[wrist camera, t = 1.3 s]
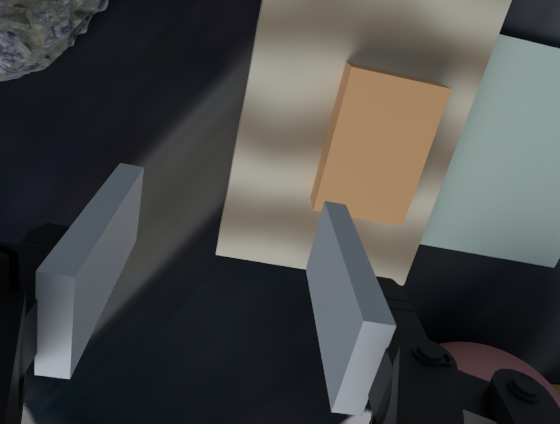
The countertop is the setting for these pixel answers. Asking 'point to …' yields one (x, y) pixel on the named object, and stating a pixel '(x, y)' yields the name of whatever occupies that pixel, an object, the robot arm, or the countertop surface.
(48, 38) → the mineral rock
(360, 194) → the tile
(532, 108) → the mat
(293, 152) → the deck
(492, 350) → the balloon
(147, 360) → the countertop surface
